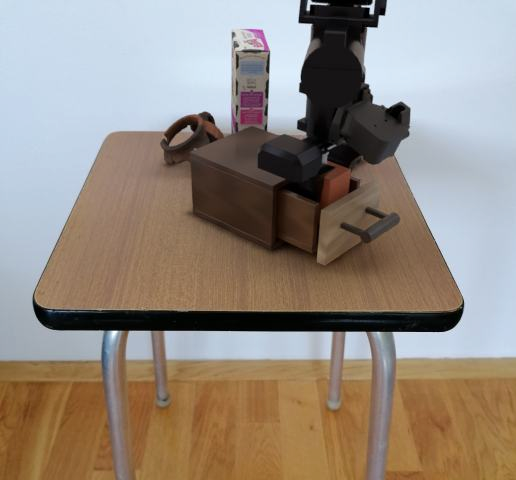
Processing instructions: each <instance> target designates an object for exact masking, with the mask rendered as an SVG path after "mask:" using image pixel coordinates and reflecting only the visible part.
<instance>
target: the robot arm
mask: <svg viewBox="0 0 516 480" xmlns="http://www.w3.org/2000/svg"><path fill="white" fill-rule="evenodd" d="M310 2H311V3H312V4H311V3H310V4H309V0H299V8H298V9H299V10H298V21H297V23H298V24H303V25H310V39H309V45H308V47H307V50H306V53H305V56H304V60H303V62H302V66H301V69H300V76H299V77H300V82H299V83H298V93H299V94H300V93H301V94H303V95H305V96H306V100H305V101H306V102H305V116H304V117H302V118H300V119H297V122H296V130H298V131H301V132H303V133H305V136H306V137H304V138H302V139H300V138H297V137H295V136H292V135H289V134H286V133H283V134H281V135H280V134H279V136H278V137H276V138H274V139H272V140H269V141H267V142H265V143H263V144H262V145H261V146H260V147H259V148H258V149H257V167H258V168H259V169H262V170H264V171H267V172H269V173H272V174H274V175H277V176H279V177H282V178H284V179H287V180H289V181H292V182H294V183H296V185H297V187H298V189H299V192H300V194H301V196H303V197H305V198H308V199H310V200H313V201H315V202H318V203H319V205H320V200H321V194H322V189H323V183H324V177H325V176H326V175H327V174H329V173H330V172H331V171H333V170H334V169H335V167H334V166H331V165H328V164H327V161H330V162H332V163H335V164H338V165H340V166H343V167H346V168H349V169H351V173H352V172H353V170H354V168H355V166H356V164H357V163H359V162H361V161H362V159H363V161H365V162H366V163H367V164H369V165H373V166H376V165H379V164H381V163H382V162H383V161H384V160H386V159H388V158H390V157H391V158H392V157H394V155H395V153H396V151H397V150H398V148H399V146H400V145H401V142H402V141H404V140H405V139H407V138H409V137H410V135H411V133H410V128H411V126H410V125H411V107H410V106H409V105H407V104H406V103H405V102H403V101H399V102H397V103H395V104H392V105H390V106H389V107H386V106H385V105H384V104H381V105H379V104H375V103H374V102H373V101H374V95H373V94H372V92H371V91H372V90H371V88H370V84H369V83H366V73H367V72H366V71H367V69H366V66H365V54H366V45H367V44H366V43H367V37H368V28H370V29H371V28H372V29H374V28H375V29H378V28H379V23H380V22H379V21H380V17H381V16H382V17H385V16H386V14H387V13H386V12H387V6H388V0H310ZM308 4H309V10H308ZM373 4H374V5H373ZM372 5H373V13H371V7H368V6H372Z"/></svg>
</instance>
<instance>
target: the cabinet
mask: <svg viewBox="0 0 516 480" xmlns="http://www.w3.org/2000/svg"><path fill="white" fill-rule="evenodd" d="M278 136H280V134H276V133H273V132H271V131H268V130H267V131H265V130H262V129H260V128H257V127H254V126H250V127H248V128H245V129H243V130H241V131H238V132H236V133H233V134H231V133H230V134H229V135H226V136H224V138H222V139H219V140H217V141H215V142H212V143H210V144H207V145H205V146H203V147H200V148H198V149H196V148H195V149H194V150H193V151H191V152H190V162H189V163H190V164H189V165H190V180H191V184H190V185H191V202H192V214H193V215H195V216H197V217H198V218H199V217H200V218H202V219H204V220H206V221H208V222H210V223H212V224H213V225H217V226H218V227H220V228H223V229H225V230H227V231H229V232H231V233H233V234H236V235H238V236H240V237H241V238H244V239H247V240H248V241H251V242H252V243H255V244H257V245H258V246H261V247H263V248H265V249H267V250H269V251H273V250H275V249H276V248H277V247H279V246H281V245H283V244H284V243H287V242H286V241H284V240H282V239H279V238H277V237H275V236H276V209H277V190H278V189H280V188H282V187H284V186H285V185H287V184H289V183H291V182H292V181H289V180H287V179H284V178H282V177H279V176H277V175H274V174H272V173H269V172H267V171H264V170H262V169H259V168H258V167H257V149H258V148H259V147H260V146H261V145H262V144H263V143H265V142H267V141H269V140H272V139H274V138H276V137H278Z"/></svg>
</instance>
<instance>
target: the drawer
mask: <svg viewBox="0 0 516 480" xmlns="http://www.w3.org/2000/svg"><path fill="white" fill-rule="evenodd" d="M361 180H362V179H360V178H358V177H355V176H353V175H350V183H349V192H348V195H346V196H344V197H343V198H341V199H339V200H337V201H336V202H334V203H332V204H331V205H329V206H327V207H325V208H324V209H322V210H321V217H320V224H318V213H319V203H318V202H315V201H313V200H310V199H308V198H305V197H303V196H301V194H300V192H299V189H298V187H297V185H296V183H294V182H291V183H289V184H287V185H285V186H284V187H282V188H280V189H278V190H277V209H276V236H275V237H277V238H279V239H282V240H284V241H286V242H285V243H288V244H290V245H292V246H295V247H297V248H299V249H301V250H304V251H306V252H308V253H310V254H313V253H314V252H317V254H316V263H318V264H320V265H323V266H326V265H328V264H329V263H331V262H332V261H334V260H335V259H338V258H339V257H340V256H341V255H343V254H344V253H346V252H348V251H350V250H351V249H352V248H354V247H355V246H356V245H358V244H360V243H363V244H367V245H368V244H370V243H372V242H374V241H375V240H376V239H377V238H379V237H381V236H382V235H384V234H385V233H387V232H389V231H390V230H391V229H393V228H394V227H396V226H397V225H399V224H400V223H401V217H400V215H399V213H397V212H395V211H393V212H390V213H385V212H383V211H381V210H379V205H380V199H381V198H380V197H381V191H382V186H383V184H382V183H383V182H382V181H379V180H376V179H372V180H370V181H369V182H367V183H364V184H363V185H362V186H361ZM377 219H379V220H377Z"/></svg>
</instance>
